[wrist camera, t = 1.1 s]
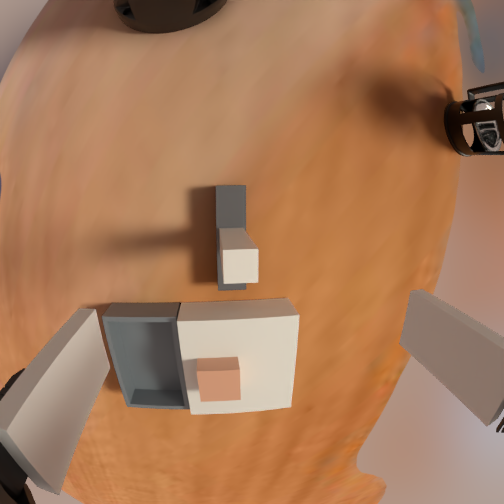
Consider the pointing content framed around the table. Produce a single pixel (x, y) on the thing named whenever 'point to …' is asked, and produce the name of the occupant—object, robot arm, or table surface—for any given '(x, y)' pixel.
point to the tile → (218, 379)
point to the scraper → (234, 240)
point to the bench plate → (241, 350)
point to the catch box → (147, 354)
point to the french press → (477, 122)
